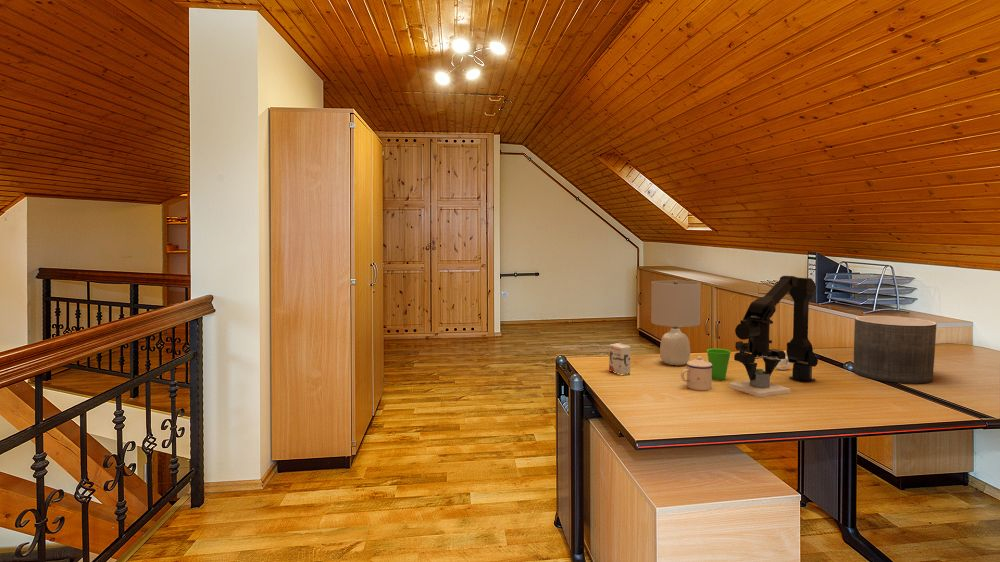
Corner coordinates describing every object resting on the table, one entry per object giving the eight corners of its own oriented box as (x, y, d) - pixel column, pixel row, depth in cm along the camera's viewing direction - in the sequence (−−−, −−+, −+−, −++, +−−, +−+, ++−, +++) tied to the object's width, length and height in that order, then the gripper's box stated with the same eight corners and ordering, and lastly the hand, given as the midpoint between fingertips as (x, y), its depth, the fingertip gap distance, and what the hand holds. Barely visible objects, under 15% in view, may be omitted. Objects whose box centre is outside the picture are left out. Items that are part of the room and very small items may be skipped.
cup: (733, 381, 198) (733, 353, 197) (708, 380, 200) (708, 353, 199) (727, 375, 207) (728, 348, 206) (703, 374, 209) (704, 348, 208)
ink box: (608, 371, 216) (608, 343, 215) (617, 370, 218) (617, 342, 217) (621, 376, 209) (621, 347, 208) (631, 374, 211) (631, 346, 210)
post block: (758, 382, 196) (758, 363, 195) (790, 392, 183) (790, 372, 182) (729, 386, 191) (729, 367, 191) (759, 397, 178) (760, 376, 178)
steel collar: (759, 382, 191) (759, 369, 191) (773, 387, 185) (773, 373, 185) (745, 384, 189) (746, 370, 189) (759, 389, 183) (760, 375, 183)
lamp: (654, 368, 219) (654, 282, 217) (648, 358, 239) (649, 279, 237) (704, 370, 216) (705, 282, 213) (694, 359, 236) (695, 279, 233)
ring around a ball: (776, 371, 212) (777, 352, 212) (767, 368, 218) (768, 349, 217) (794, 370, 214) (794, 351, 213) (784, 367, 219) (785, 348, 219)
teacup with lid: (702, 383, 197) (702, 353, 196) (717, 389, 188) (718, 358, 187) (674, 385, 194) (674, 355, 193) (688, 392, 185) (689, 360, 184)
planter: (943, 377, 201) (946, 321, 199) (919, 388, 186) (922, 328, 184) (867, 364, 221) (870, 313, 220) (841, 374, 207) (843, 319, 205)
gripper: (762, 331, 196) (761, 371, 198) (723, 335, 190) (722, 376, 191) (787, 336, 186) (786, 378, 187) (747, 340, 180) (746, 384, 181)
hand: (759, 379), depth 187 cm, fingers open, 7 cm apart
